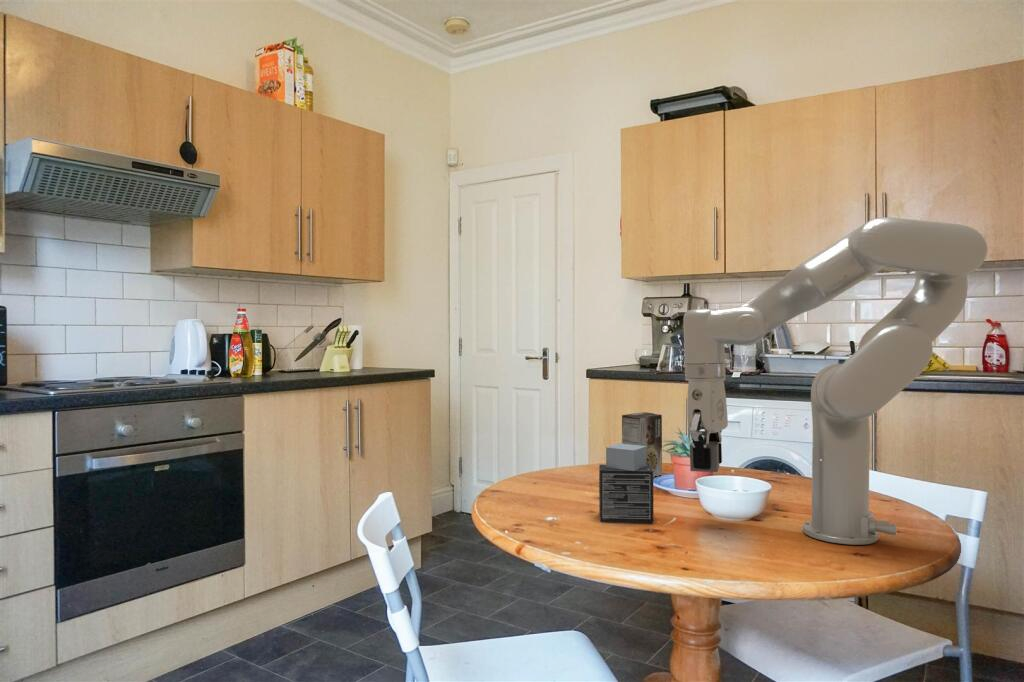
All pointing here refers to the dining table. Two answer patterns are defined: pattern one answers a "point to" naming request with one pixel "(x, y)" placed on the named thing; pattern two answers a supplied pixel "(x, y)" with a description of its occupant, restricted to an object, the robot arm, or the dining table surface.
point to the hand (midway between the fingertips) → (707, 464)
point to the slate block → (626, 457)
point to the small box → (626, 495)
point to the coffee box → (645, 436)
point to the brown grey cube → (714, 458)
